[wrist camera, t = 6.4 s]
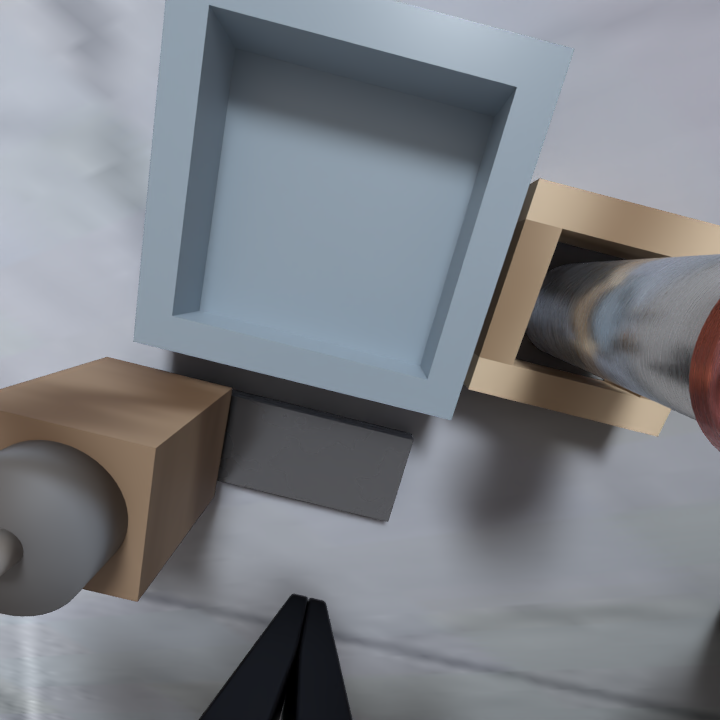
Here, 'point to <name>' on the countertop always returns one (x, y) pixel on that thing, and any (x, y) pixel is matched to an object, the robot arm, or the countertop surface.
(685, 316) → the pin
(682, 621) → the countertop surface
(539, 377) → the socket
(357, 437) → the rail
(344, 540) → the countertop surface
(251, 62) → the tray
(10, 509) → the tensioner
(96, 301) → the countertop surface
